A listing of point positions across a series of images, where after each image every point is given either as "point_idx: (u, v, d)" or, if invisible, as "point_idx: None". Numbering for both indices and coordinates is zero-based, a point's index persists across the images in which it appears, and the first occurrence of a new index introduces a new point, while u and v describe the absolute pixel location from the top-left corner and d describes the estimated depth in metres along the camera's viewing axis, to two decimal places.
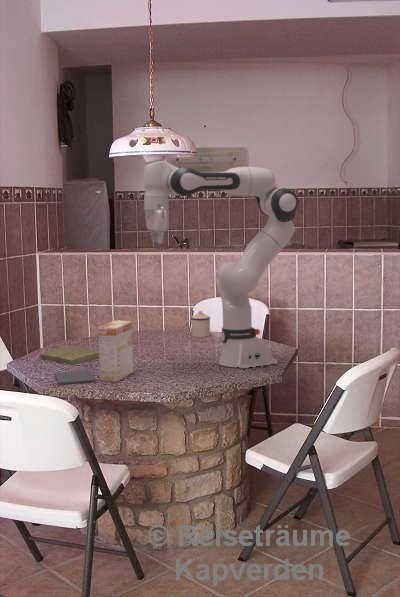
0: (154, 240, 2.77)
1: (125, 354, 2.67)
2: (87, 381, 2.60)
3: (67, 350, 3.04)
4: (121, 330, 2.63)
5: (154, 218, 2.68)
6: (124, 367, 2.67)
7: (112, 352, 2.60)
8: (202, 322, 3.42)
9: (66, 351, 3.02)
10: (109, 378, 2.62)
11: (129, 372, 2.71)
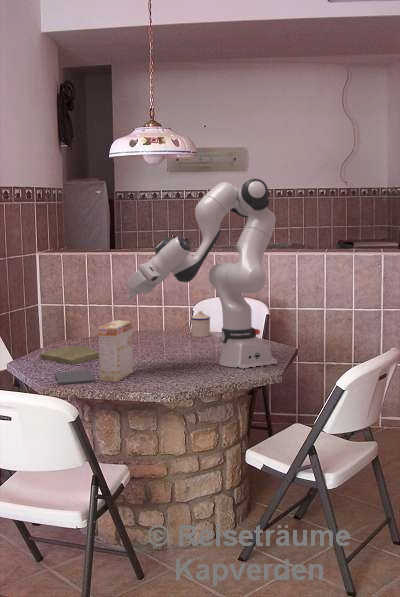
0: None
1: (125, 354, 2.67)
2: (87, 381, 2.60)
3: (67, 350, 3.04)
4: (121, 330, 2.63)
5: (150, 284, 2.76)
6: (124, 367, 2.67)
7: (112, 352, 2.60)
8: (202, 322, 3.42)
9: (66, 351, 3.02)
10: (109, 378, 2.62)
11: (129, 372, 2.71)
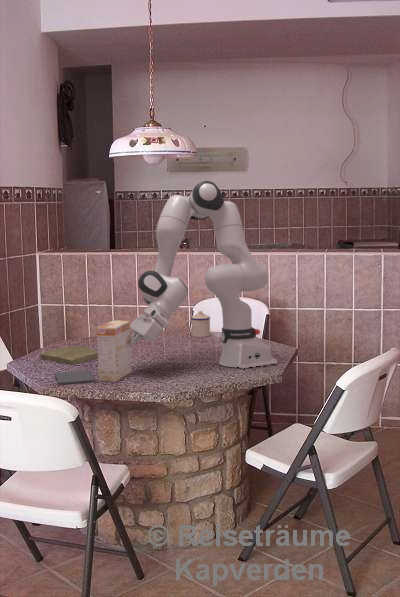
0: None
1: (123, 354, 2.67)
2: (87, 381, 2.60)
3: (67, 350, 3.04)
4: (119, 330, 2.63)
5: None
6: (123, 367, 2.67)
7: (111, 352, 2.60)
8: (202, 322, 3.42)
9: (66, 351, 3.02)
10: (107, 379, 2.62)
11: (127, 372, 2.71)
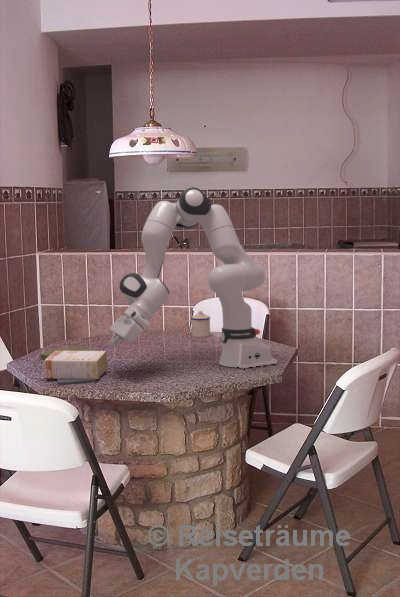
0: None
1: (79, 355, 2.69)
2: (87, 381, 2.60)
3: (67, 350, 3.04)
4: (52, 356, 2.68)
5: None
6: (91, 355, 2.68)
7: (68, 364, 2.62)
8: (202, 322, 3.42)
9: None
10: (95, 369, 2.61)
11: (102, 353, 2.72)
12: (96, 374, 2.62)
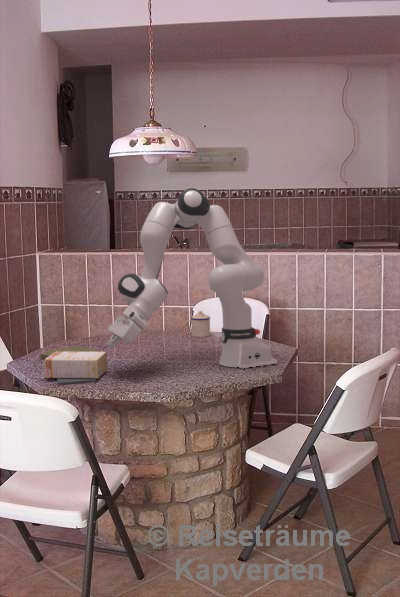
0: None
1: (79, 355, 2.69)
2: (87, 381, 2.60)
3: (67, 350, 3.04)
4: (52, 356, 2.68)
5: None
6: (91, 355, 2.68)
7: (68, 363, 2.62)
8: (202, 322, 3.42)
9: (66, 351, 3.02)
10: (95, 368, 2.62)
11: (102, 353, 2.72)
12: (96, 373, 2.62)
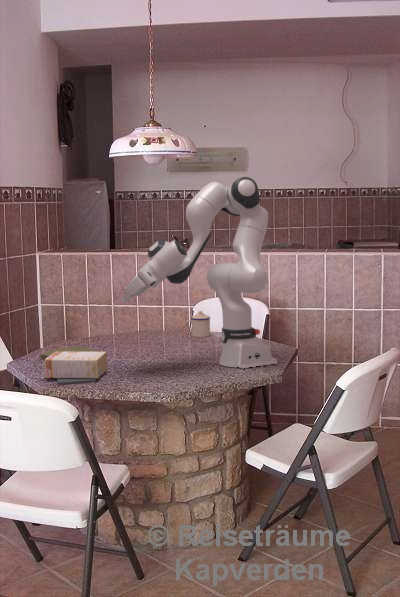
0: None
1: (79, 355, 2.69)
2: (87, 381, 2.60)
3: (67, 350, 3.04)
4: (52, 356, 2.68)
5: (144, 288, 2.75)
6: (91, 355, 2.68)
7: (68, 363, 2.62)
8: (202, 322, 3.42)
9: (66, 351, 3.02)
10: (95, 368, 2.62)
11: (102, 353, 2.72)
12: (96, 373, 2.62)
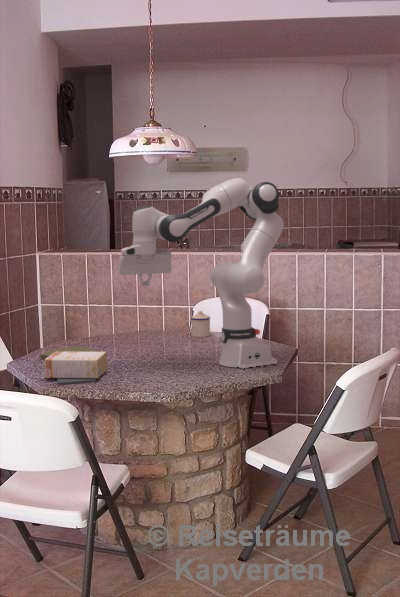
0: None
1: (79, 355, 2.69)
2: (87, 381, 2.60)
3: (67, 350, 3.04)
4: (52, 356, 2.68)
5: (153, 262, 2.80)
6: (91, 355, 2.68)
7: (68, 363, 2.62)
8: (202, 322, 3.42)
9: (66, 351, 3.02)
10: (95, 368, 2.62)
11: (102, 353, 2.72)
12: (96, 373, 2.62)
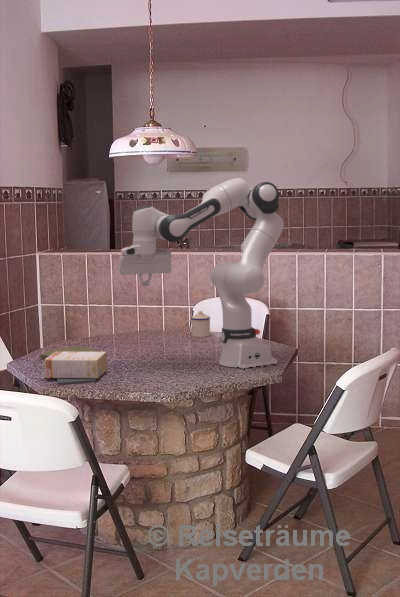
0: None
1: (79, 355, 2.69)
2: (87, 381, 2.60)
3: (67, 350, 3.04)
4: (52, 356, 2.68)
5: (153, 262, 2.80)
6: (91, 355, 2.68)
7: (68, 363, 2.62)
8: (202, 322, 3.42)
9: (66, 351, 3.02)
10: (95, 368, 2.62)
11: (102, 353, 2.72)
12: (96, 373, 2.62)
